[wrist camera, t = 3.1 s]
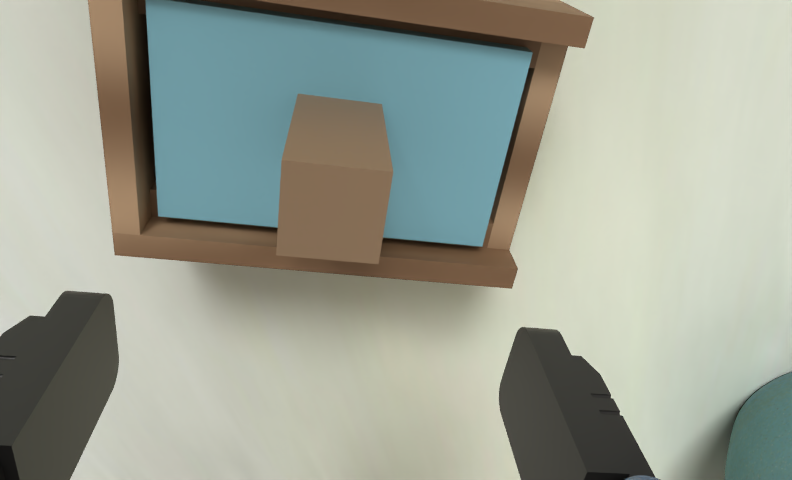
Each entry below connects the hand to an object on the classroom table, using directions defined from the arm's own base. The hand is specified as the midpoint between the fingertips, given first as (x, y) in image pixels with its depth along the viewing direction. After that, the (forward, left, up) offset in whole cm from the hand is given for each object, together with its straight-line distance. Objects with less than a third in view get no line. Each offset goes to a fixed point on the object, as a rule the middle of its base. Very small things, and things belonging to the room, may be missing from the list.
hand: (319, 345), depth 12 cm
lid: (0, 0, -12) cm, 12 cm away
